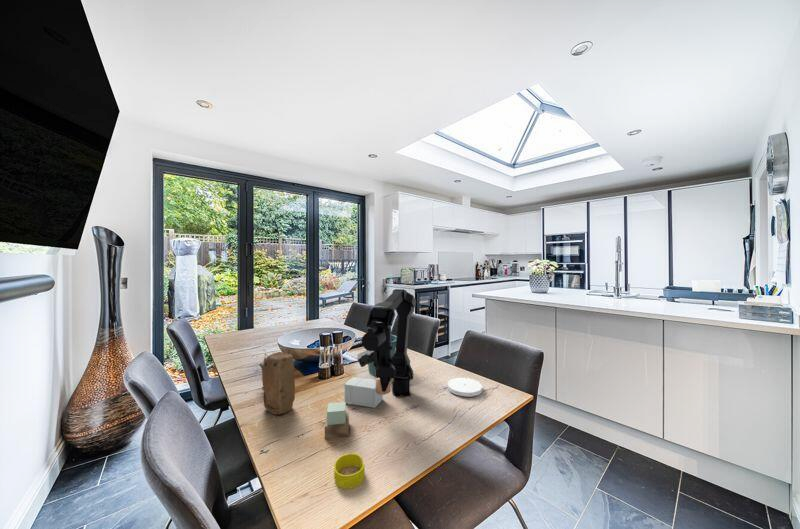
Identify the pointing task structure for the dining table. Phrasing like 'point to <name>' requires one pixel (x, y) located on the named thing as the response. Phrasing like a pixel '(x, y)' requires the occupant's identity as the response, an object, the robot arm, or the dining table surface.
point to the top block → (336, 413)
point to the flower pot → (393, 344)
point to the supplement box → (362, 392)
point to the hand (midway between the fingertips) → (383, 387)
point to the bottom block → (337, 429)
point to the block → (278, 382)
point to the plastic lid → (464, 387)
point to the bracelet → (352, 479)
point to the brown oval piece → (379, 388)
